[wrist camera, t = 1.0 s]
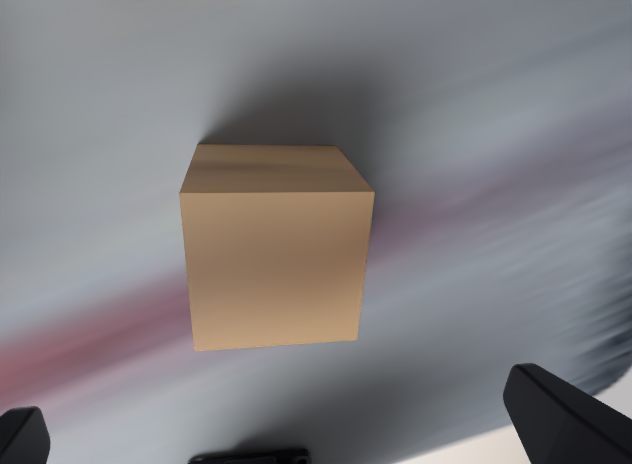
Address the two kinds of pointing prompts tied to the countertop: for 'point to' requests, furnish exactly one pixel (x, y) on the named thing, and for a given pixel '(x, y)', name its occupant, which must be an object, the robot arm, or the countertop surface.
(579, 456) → the robot arm
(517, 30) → the countertop surface
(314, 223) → the walnut cube
